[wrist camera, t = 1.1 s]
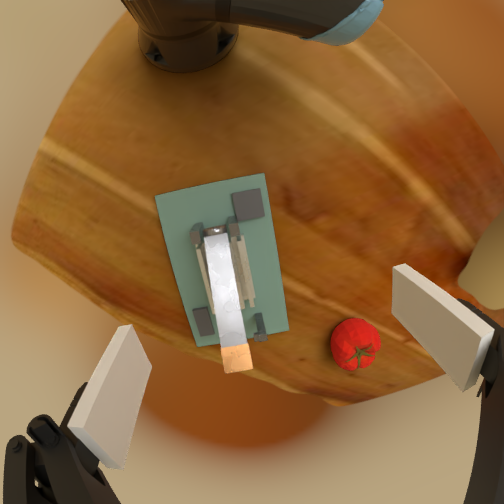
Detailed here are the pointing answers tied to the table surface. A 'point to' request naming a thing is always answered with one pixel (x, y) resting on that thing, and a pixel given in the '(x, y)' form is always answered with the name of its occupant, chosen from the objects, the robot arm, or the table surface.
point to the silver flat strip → (226, 301)
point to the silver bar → (239, 266)
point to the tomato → (354, 344)
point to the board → (250, 224)
